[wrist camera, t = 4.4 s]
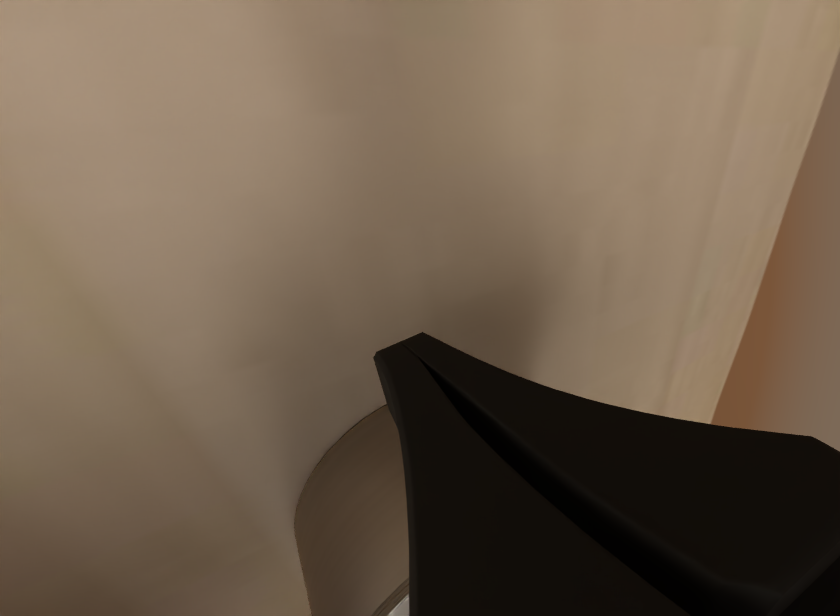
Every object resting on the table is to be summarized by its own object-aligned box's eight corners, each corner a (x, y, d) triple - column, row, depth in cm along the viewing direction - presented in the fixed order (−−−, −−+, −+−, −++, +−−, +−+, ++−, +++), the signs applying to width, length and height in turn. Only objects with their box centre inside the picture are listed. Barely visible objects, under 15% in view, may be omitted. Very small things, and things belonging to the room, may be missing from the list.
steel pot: (220, 562, 12) (229, 835, 7) (430, 327, 11) (570, 468, 7) (414, 585, 17) (482, 745, 13) (556, 430, 17) (676, 542, 13)
